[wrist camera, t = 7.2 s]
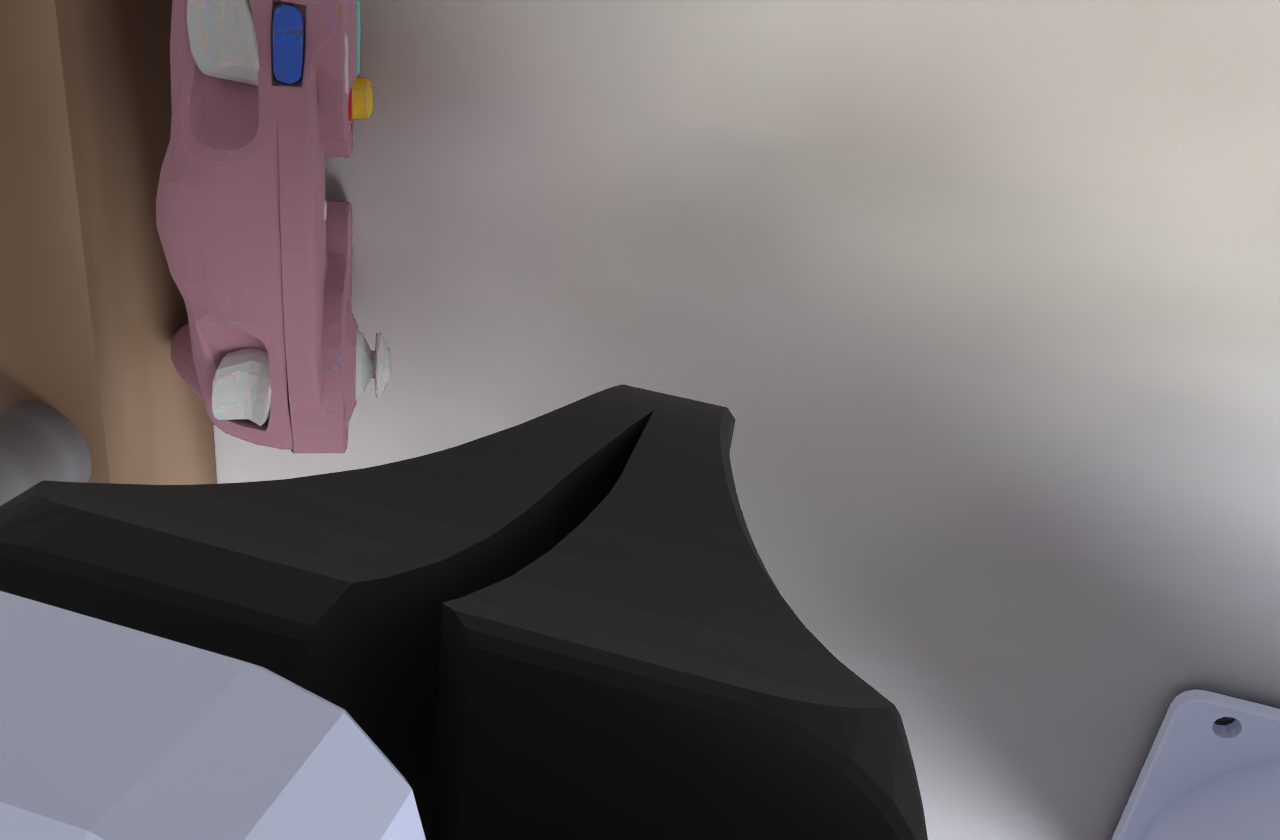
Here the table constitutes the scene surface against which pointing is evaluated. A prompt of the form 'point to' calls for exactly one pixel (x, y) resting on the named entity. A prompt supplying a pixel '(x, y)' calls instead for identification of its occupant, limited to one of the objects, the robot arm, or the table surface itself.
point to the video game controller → (266, 217)
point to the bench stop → (89, 253)
